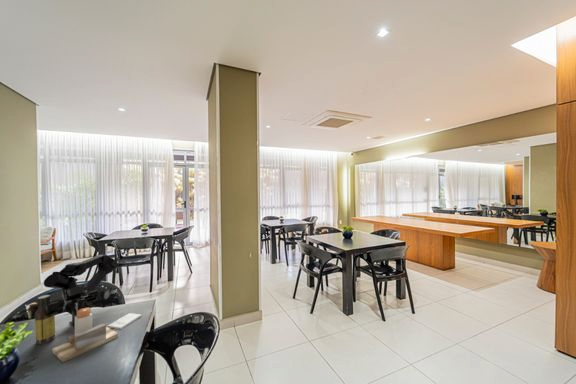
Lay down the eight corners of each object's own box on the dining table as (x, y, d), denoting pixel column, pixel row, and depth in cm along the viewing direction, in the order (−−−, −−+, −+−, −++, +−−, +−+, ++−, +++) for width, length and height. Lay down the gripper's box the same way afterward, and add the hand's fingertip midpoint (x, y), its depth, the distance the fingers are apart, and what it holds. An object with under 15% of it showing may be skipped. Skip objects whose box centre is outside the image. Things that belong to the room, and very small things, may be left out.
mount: (52, 352, 98) (52, 333, 98) (106, 329, 114) (106, 313, 114) (62, 362, 91) (62, 343, 92) (118, 336, 108) (118, 320, 108)
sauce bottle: (57, 334, 110) (57, 292, 110) (51, 342, 104) (51, 297, 104) (38, 338, 107) (38, 295, 107) (31, 346, 101) (31, 300, 101)
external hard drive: (141, 317, 126) (120, 330, 114) (128, 315, 128) (106, 328, 115) (141, 314, 126) (120, 327, 114) (128, 312, 128) (106, 325, 115)
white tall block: (74, 339, 104) (74, 311, 104) (88, 333, 108) (88, 306, 108) (78, 342, 101) (78, 313, 101) (92, 336, 105) (92, 309, 106)
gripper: (46, 286, 102) (54, 318, 96) (98, 273, 118) (108, 300, 112) (40, 300, 106) (48, 331, 100) (91, 286, 122) (101, 312, 116)
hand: (78, 318), depth 107 cm, fingers closed
